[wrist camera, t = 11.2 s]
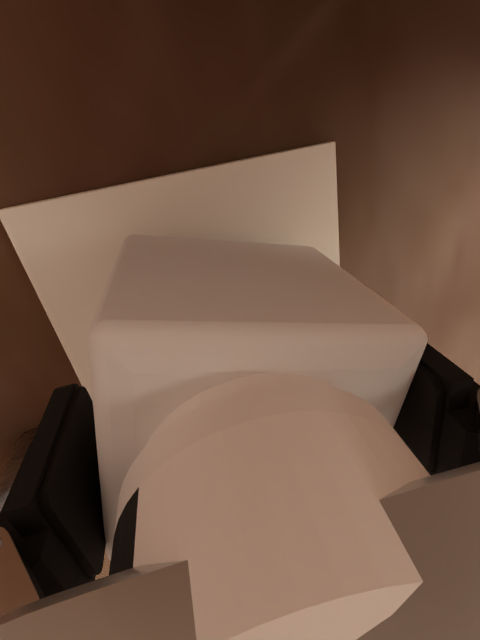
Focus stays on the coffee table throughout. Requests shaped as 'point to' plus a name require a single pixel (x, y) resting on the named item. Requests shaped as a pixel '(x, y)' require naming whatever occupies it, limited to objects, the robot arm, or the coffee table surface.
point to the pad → (168, 226)
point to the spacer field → (14, 464)
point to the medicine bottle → (254, 433)
